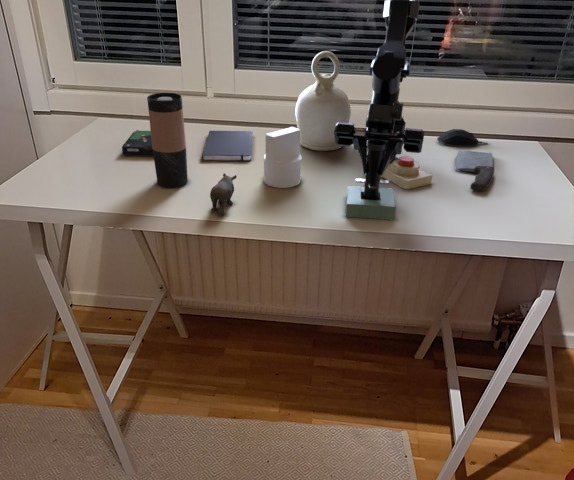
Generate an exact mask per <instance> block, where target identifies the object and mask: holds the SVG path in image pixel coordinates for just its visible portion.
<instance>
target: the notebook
mask: <svg viewBox="0 0 574 480" xmlns="http://www.w3.org/2000/svg"><path fill="white" fill-rule="evenodd" d="M253 135H254V132H253V131H252V130H209V131H208V135H207V138H206V141H205V146H204V149H203V152H202V161H210V162H213V161H216V162H217V161H219V162H250V161H252V153H253V140H254V138H253V137H254V136H253Z"/></svg>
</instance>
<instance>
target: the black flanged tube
mask: <svg viewBox="0 0 574 480" xmlns="http://www.w3.org/2000/svg"><path fill="white" fill-rule="evenodd" d="M385 147H386V142H385V141H382V140H377V139H373V140H369V141H368V140H367V155H368V156H367V166H366V174H364V175H365V177H364V178H355V183H362V184H364V186H363V187H364V194H363V199H365V200H378V193H379V188H380V185H389V184H390V181H389V180H387V179H381V176H380V171H381V166H382V160H383V151H384V150H385Z"/></svg>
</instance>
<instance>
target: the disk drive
mask: <svg viewBox="0 0 574 480" xmlns="http://www.w3.org/2000/svg"><path fill="white" fill-rule="evenodd" d="M121 150H122V156H130V157H132V156H133V157H154V155H153V148H152V139H151V130H139V129H137V130H135V131H132V133H131V134H130V136H129V137H128V138H127V140H126V141H125V142H124V143H123V144H122V146H121Z"/></svg>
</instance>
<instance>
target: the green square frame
mask: <svg viewBox="0 0 574 480" xmlns="http://www.w3.org/2000/svg"><path fill="white" fill-rule="evenodd" d="M363 194H364V186H359V185H358V186H357V185H347V188H346V202H345V203H346V206H345V208H346V209H345V217H347V218H361V219H362V218H363V219H375V220H391V221H394V220H395V213H396V200H395V193H394V188H392V187H379V193H378V200H365V199H363Z"/></svg>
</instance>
